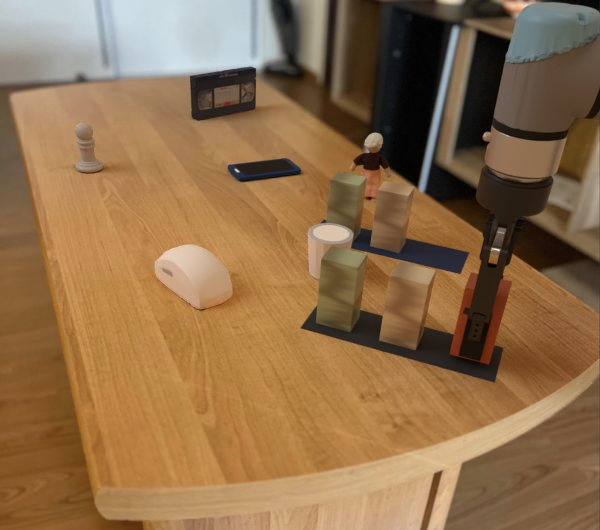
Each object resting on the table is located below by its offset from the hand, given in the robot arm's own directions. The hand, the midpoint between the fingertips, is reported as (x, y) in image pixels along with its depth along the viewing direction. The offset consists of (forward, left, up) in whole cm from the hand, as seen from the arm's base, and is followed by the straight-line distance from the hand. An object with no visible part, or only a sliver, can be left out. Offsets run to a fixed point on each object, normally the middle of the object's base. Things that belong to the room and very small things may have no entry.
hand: (472, 346), depth 81 cm
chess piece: (+81, -29, -2) cm, 86 cm away
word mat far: (+18, -25, -2) cm, 31 cm away
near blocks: (+14, 0, -2) cm, 14 cm away
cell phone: (+50, -45, -2) cm, 67 cm away
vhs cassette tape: (+75, -75, -2) cm, 106 cm away
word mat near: (+9, 0, -2) cm, 9 cm away
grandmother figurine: (+27, -42, -2) cm, 50 cm away
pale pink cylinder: (+24, -12, -2) cm, 27 cm away
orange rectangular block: (0, 0, -1) cm, 1 cm away
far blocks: (+22, -25, -2) cm, 33 cm away
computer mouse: (+40, +1, -2) cm, 40 cm away
